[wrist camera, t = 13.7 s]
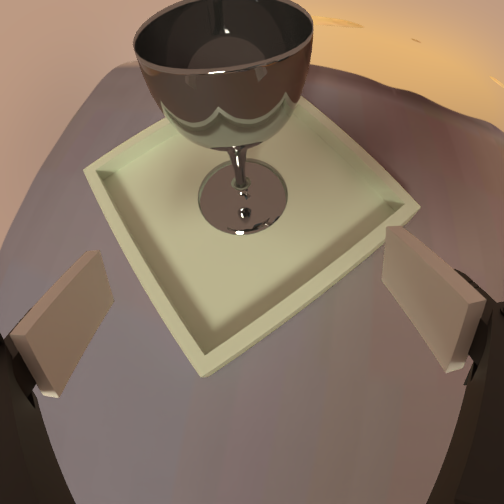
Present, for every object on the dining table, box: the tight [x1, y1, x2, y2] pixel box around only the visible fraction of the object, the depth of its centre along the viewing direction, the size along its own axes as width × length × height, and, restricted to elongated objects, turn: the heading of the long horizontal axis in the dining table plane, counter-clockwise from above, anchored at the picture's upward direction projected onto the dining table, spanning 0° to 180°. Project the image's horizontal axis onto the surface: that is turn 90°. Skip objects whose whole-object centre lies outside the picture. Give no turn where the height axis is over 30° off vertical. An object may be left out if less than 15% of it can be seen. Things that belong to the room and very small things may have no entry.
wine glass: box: [133, 0, 313, 235], centre depth 18 cm, size 8×8×15 cm
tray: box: [83, 96, 421, 377], centre depth 25 cm, size 20×20×2 cm
